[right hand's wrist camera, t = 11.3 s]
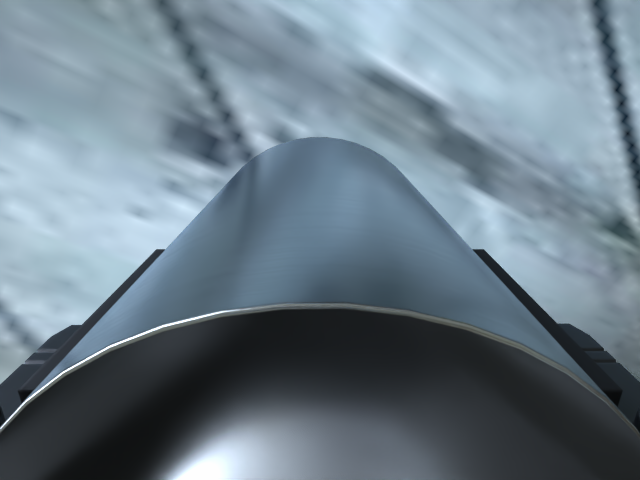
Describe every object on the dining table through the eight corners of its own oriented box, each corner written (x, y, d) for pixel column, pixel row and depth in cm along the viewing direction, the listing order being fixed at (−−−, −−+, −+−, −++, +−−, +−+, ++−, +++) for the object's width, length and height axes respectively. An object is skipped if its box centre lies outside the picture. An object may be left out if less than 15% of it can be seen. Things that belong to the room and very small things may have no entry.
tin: (174, 274, 18) (-126, 665, 6) (284, 88, 15) (150, 105, 3) (346, 369, 20) (388, 822, 8) (471, 217, 17) (841, 542, 5)
